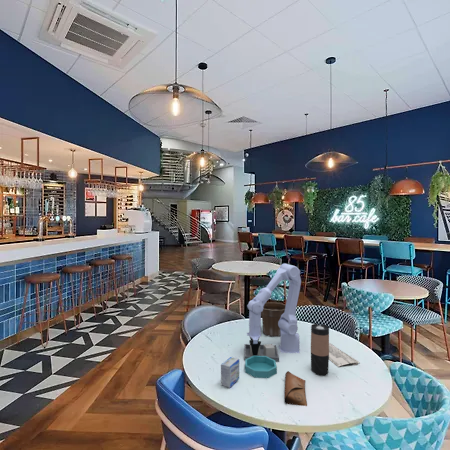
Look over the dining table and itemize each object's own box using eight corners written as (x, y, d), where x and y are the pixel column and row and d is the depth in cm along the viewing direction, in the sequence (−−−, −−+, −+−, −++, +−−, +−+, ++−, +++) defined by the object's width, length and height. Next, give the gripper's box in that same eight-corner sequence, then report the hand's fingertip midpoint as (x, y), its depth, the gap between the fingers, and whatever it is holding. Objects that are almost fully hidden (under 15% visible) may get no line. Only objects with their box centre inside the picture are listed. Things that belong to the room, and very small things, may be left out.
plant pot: (259, 327, 178) (260, 301, 178) (286, 328, 176) (286, 302, 175) (259, 337, 162) (259, 309, 161) (288, 339, 159) (288, 310, 159)
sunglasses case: (308, 407, 102) (299, 390, 102) (291, 414, 103) (281, 397, 104) (305, 379, 119) (297, 365, 120) (290, 386, 121) (282, 371, 121)
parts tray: (276, 350, 146) (276, 345, 146) (279, 362, 133) (279, 357, 133) (244, 348, 147) (244, 344, 147) (244, 361, 134) (244, 356, 134)
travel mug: (319, 378, 121) (320, 331, 120) (306, 369, 127) (307, 325, 127) (332, 373, 124) (333, 328, 124) (319, 365, 131) (319, 322, 130)
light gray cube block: (271, 352, 142) (271, 343, 142) (274, 356, 138) (274, 347, 138) (263, 353, 142) (263, 344, 142) (266, 357, 138) (266, 348, 138)
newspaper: (361, 365, 132) (361, 360, 132) (338, 371, 130) (338, 366, 129) (332, 344, 154) (331, 340, 154) (312, 349, 152) (311, 344, 151)
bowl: (274, 363, 133) (274, 356, 133) (277, 379, 119) (277, 371, 119) (245, 362, 134) (245, 355, 134) (245, 378, 120) (245, 370, 120)
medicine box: (229, 388, 113) (230, 366, 113) (220, 385, 115) (220, 363, 115) (239, 379, 119) (239, 358, 119) (230, 376, 122) (230, 356, 122)
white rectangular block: (259, 352, 142) (259, 343, 142) (259, 356, 138) (260, 346, 138) (249, 352, 143) (249, 342, 143) (250, 356, 139) (250, 346, 139)
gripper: (246, 319, 148) (246, 345, 148) (247, 330, 133) (246, 358, 134) (260, 319, 147) (260, 345, 148) (262, 330, 133) (262, 359, 133)
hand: (254, 352), depth 140 cm, fingers open, 5 cm apart
